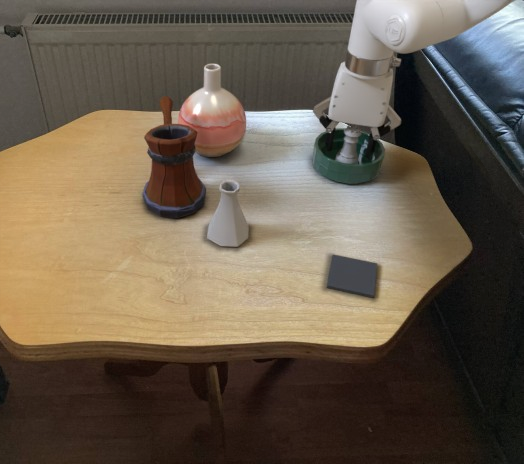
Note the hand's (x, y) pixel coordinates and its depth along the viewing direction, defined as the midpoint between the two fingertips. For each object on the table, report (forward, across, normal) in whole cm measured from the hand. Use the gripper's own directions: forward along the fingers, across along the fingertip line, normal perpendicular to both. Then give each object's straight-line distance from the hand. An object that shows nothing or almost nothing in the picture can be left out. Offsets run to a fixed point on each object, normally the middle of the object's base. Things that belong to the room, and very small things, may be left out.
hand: (348, 150), depth 99 cm
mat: (+4, -4, +30) cm, 30 cm away
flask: (+4, +17, +26) cm, 31 cm away
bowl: (+4, 0, 0) cm, 4 cm away
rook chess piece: (+3, 0, 0) cm, 3 cm away
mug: (+4, +30, +17) cm, 35 cm away
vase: (+4, +27, +2) cm, 27 cm away
